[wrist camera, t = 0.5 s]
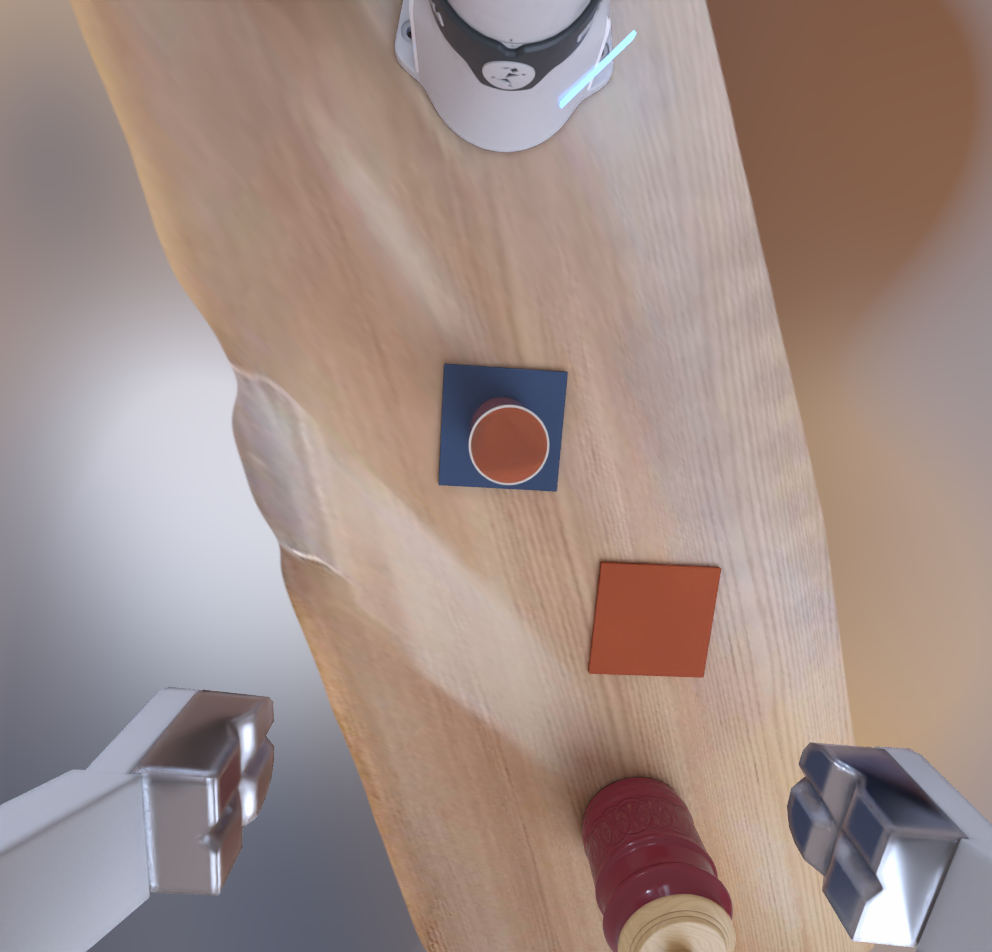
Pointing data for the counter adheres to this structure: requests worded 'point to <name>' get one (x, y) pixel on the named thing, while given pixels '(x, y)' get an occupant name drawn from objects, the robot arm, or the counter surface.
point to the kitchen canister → (654, 872)
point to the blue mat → (483, 383)
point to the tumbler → (507, 441)
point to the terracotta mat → (653, 619)
